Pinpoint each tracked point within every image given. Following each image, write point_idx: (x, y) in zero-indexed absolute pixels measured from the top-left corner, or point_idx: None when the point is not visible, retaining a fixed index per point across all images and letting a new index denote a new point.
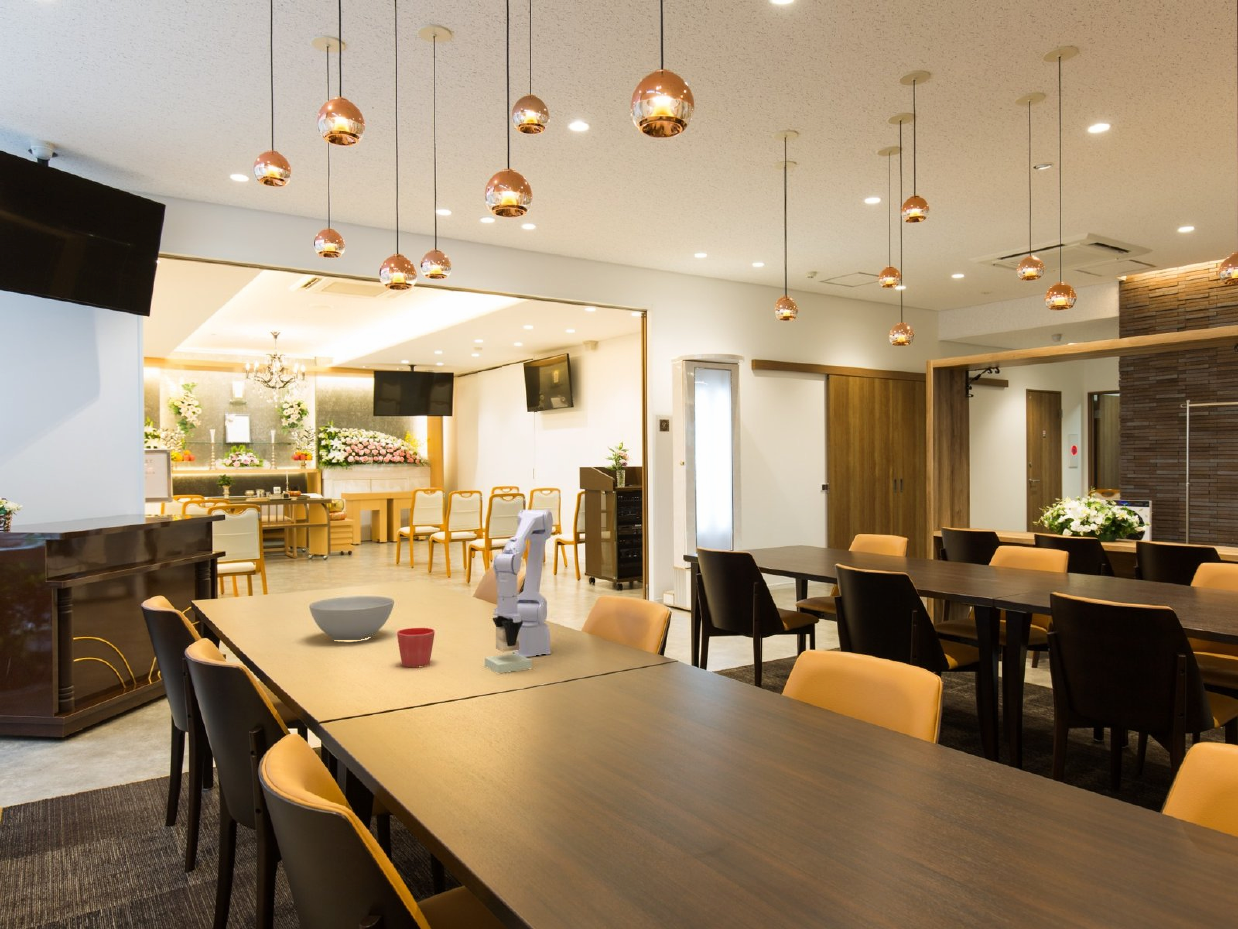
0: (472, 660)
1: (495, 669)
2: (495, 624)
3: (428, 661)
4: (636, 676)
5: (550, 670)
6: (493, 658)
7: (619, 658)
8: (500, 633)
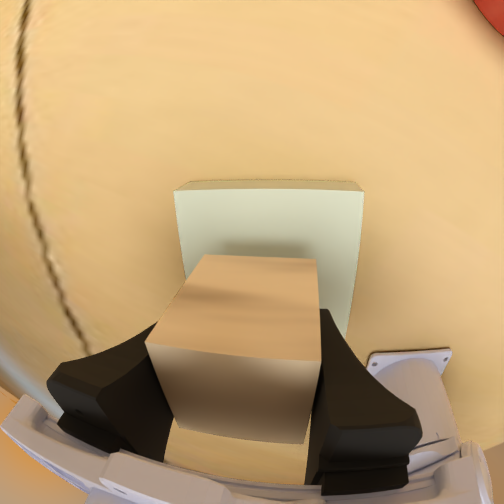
0: (477, 189)
1: (215, 183)
2: (372, 387)
3: (490, 14)
4: None
5: None
6: (316, 222)
7: (219, 456)
8: (200, 325)
